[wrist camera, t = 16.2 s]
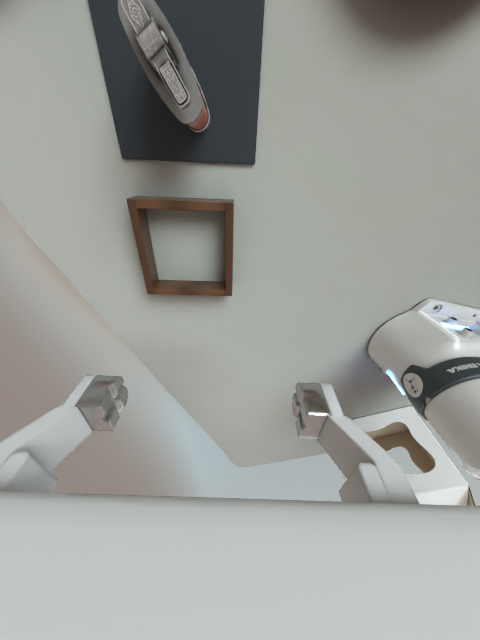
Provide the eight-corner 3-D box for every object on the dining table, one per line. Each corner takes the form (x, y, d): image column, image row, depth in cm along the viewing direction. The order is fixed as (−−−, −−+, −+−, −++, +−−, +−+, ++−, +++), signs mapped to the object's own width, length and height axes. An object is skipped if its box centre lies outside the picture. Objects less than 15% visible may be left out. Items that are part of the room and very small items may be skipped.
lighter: (142, 50, 22) (86, -18, 14) (169, 22, 21) (125, -68, 13) (193, 140, 26) (173, 129, 18) (217, 120, 25) (207, 99, 17)
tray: (233, 199, 30) (233, 202, 27) (232, 287, 37) (231, 296, 35) (135, 195, 30) (126, 198, 27) (153, 285, 37) (147, 293, 35)
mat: (264, -11, 20) (265, -14, 20) (254, 164, 28) (254, 164, 27) (84, -23, 20) (82, -26, 19) (123, 158, 27) (122, 158, 27)
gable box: (412, 404, 57) (530, 567, 34) (412, 430, 64) (511, 579, 41) (325, 425, 62) (376, 579, 39) (334, 446, 69) (382, 588, 46)
